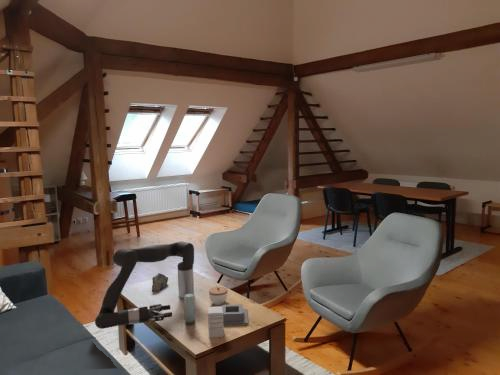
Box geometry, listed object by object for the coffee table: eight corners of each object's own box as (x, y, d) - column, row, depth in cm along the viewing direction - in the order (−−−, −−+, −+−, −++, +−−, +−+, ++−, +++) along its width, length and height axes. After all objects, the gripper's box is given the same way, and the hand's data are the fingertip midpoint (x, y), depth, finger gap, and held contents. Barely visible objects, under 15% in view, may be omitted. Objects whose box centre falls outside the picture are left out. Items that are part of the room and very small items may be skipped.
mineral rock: (167, 282, 263) (166, 268, 261) (173, 288, 254) (173, 273, 253) (148, 287, 256) (147, 272, 254) (154, 292, 247) (153, 277, 246)
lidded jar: (218, 297, 238) (218, 282, 237) (231, 301, 232) (231, 286, 230) (205, 303, 230) (205, 287, 229) (218, 308, 223) (218, 292, 222)
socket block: (217, 311, 219) (217, 303, 218) (246, 310, 220) (246, 302, 219) (216, 325, 203) (216, 316, 203) (247, 324, 204) (247, 315, 203)
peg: (185, 321, 209) (184, 293, 207) (195, 320, 209) (194, 293, 207) (184, 325, 204) (183, 297, 202) (194, 325, 204) (193, 297, 202)
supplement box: (208, 330, 199) (207, 306, 197) (223, 329, 199) (222, 305, 198) (208, 338, 191) (207, 313, 190) (223, 337, 192) (223, 312, 190)
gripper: (138, 314, 191) (172, 309, 195) (137, 302, 204) (169, 298, 209) (139, 329, 192) (173, 323, 197) (138, 316, 205) (170, 311, 210)
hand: (171, 310), depth 203 cm, fingers open, 8 cm apart
